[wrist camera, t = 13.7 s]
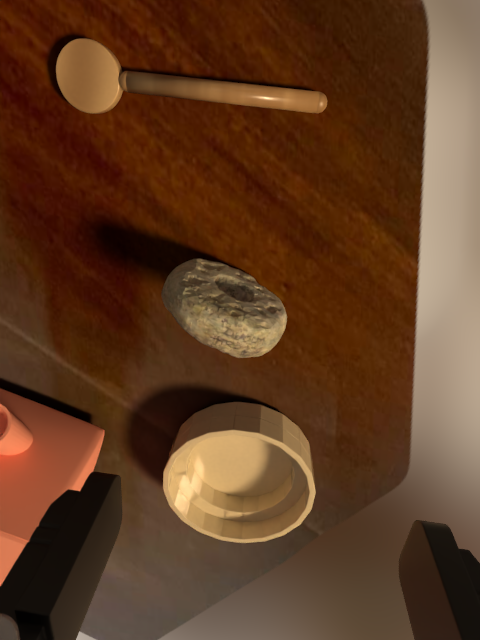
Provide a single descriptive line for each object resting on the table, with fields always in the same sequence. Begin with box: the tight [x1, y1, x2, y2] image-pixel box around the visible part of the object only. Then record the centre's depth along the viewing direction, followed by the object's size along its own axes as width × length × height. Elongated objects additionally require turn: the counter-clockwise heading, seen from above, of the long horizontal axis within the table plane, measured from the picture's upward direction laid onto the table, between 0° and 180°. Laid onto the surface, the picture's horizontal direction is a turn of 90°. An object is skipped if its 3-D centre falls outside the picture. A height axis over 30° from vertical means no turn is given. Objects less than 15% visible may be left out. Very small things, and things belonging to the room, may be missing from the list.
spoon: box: [56, 38, 327, 114], centre depth 31 cm, size 20×5×1 cm, turn 84°
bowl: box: [163, 402, 316, 543], centre depth 44 cm, size 15×15×5 cm
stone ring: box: [162, 258, 287, 358], centre depth 33 cm, size 10×4×10 cm, turn 62°
